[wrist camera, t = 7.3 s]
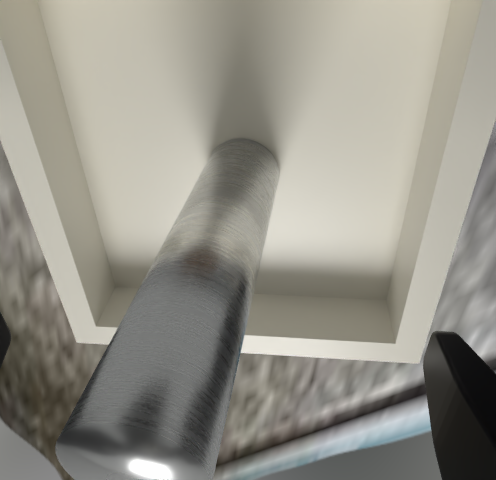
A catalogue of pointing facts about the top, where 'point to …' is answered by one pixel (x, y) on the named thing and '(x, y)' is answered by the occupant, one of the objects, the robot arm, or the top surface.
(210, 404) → the lock pin
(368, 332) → the tray
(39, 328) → the top surface
